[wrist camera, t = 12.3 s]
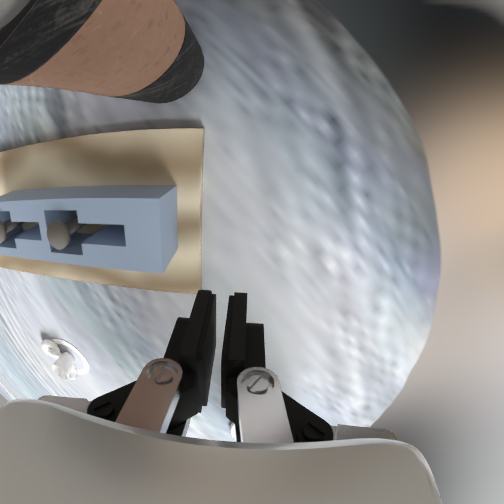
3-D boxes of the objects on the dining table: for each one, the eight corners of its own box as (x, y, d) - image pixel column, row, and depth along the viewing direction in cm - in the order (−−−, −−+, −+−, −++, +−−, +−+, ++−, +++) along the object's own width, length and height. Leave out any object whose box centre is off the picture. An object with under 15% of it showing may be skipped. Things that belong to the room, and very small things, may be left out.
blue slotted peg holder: (178, 248, 26) (163, 273, 21) (19, 237, 25) (-5, 254, 21) (177, 185, 23) (159, 198, 19) (12, 190, 23) (-16, 203, 18)
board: (201, 288, 29) (188, 332, 22) (2, 263, 28) (-28, 286, 21) (204, 128, 22) (185, 126, 16) (-15, 156, 21) (-51, 168, 15)
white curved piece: (41, 338, 34) (29, 353, 30) (62, 327, 33) (49, 345, 29) (73, 375, 37) (64, 391, 34) (98, 368, 36) (89, 386, 32)
